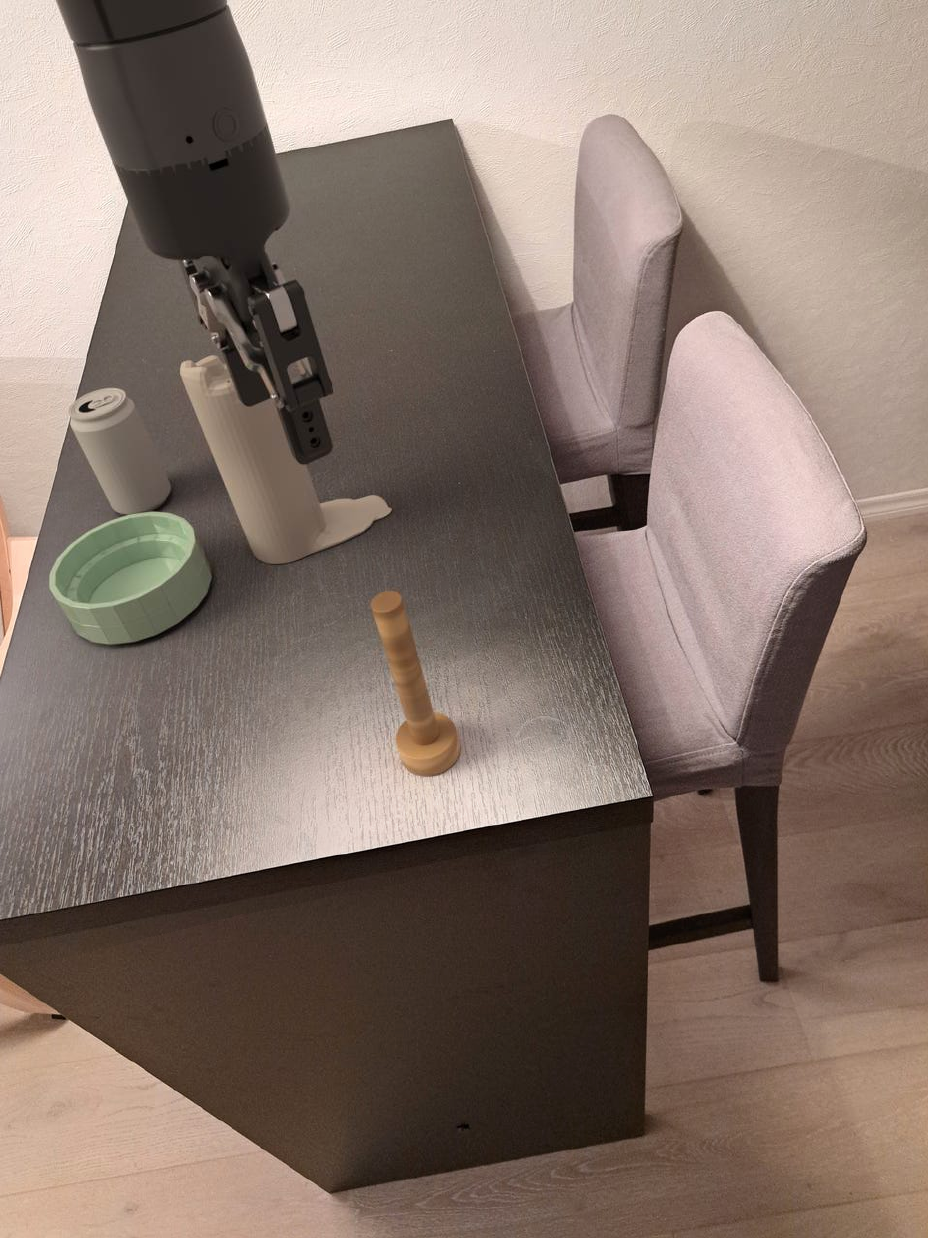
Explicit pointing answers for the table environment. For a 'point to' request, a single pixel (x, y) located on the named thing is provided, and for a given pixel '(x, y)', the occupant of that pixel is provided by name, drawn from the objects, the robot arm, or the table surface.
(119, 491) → the beverage can
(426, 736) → the pestle
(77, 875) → the table surface
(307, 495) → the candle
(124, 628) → the bowl
